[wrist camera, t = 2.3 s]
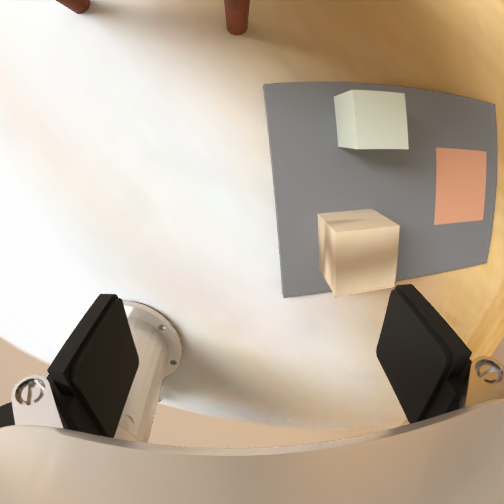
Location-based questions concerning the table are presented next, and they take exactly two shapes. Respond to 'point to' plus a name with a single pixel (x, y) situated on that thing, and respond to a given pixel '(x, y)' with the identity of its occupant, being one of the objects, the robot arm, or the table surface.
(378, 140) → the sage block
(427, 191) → the board
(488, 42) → the table surface
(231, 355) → the table surface
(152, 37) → the table surface
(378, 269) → the maple block
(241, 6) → the plant pot with stand
